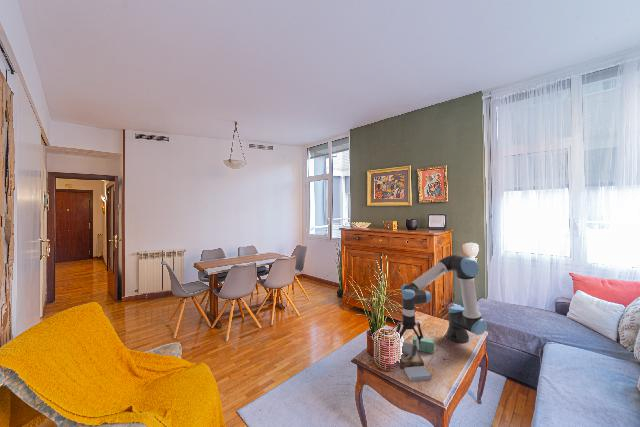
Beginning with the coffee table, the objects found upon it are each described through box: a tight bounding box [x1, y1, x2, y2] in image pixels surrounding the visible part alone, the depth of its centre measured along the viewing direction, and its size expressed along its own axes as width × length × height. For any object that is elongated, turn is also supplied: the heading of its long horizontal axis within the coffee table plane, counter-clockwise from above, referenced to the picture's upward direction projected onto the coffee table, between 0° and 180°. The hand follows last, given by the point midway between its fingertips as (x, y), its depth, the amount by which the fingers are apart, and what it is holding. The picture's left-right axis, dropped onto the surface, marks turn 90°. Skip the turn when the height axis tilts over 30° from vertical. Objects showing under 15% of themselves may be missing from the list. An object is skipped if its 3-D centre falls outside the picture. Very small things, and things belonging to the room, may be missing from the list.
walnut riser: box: [399, 351, 425, 370], centre depth 171 cm, size 14×14×4 cm
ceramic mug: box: [401, 341, 418, 359], centre depth 170 cm, size 11×8×8 cm
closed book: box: [403, 365, 432, 382], centre depth 158 cm, size 12×9×2 cm
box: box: [412, 334, 435, 354], centre depth 186 cm, size 7×14×8 cm, turn 66°
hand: (409, 348), depth 171 cm, fingers closed on ceramic mug, 10 cm apart
